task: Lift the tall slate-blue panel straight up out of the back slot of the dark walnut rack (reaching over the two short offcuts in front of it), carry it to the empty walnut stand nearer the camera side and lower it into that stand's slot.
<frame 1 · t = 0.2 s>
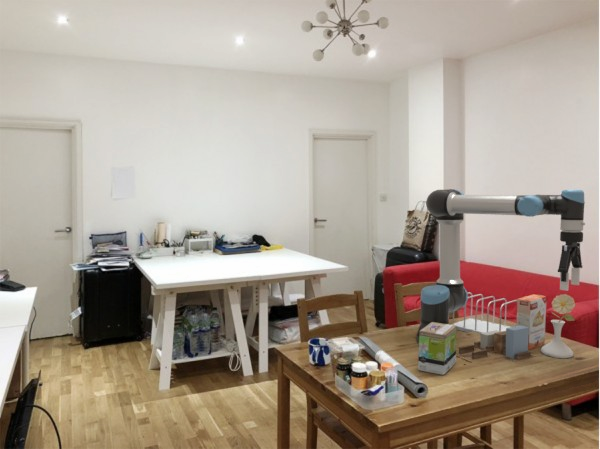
hand: (569, 287, 189), 28 cm above the table, fingers open, 13 cm apart
offcut brown: (503, 351, 198), point 1 cm above the table, touching rack
tea box: (437, 367, 185), on the table
file sorter: (484, 331, 230), on the table
flower in vase: (558, 357, 194), on the table
panel: (516, 356, 192), point 1 cm above the table, touching rack
rack: (503, 354, 198), on the table
offcut grey: (491, 347, 203), point 1 cm above the table, touching rack
stand: (472, 357, 194), on the table
cracker box: (530, 347, 206), on the table
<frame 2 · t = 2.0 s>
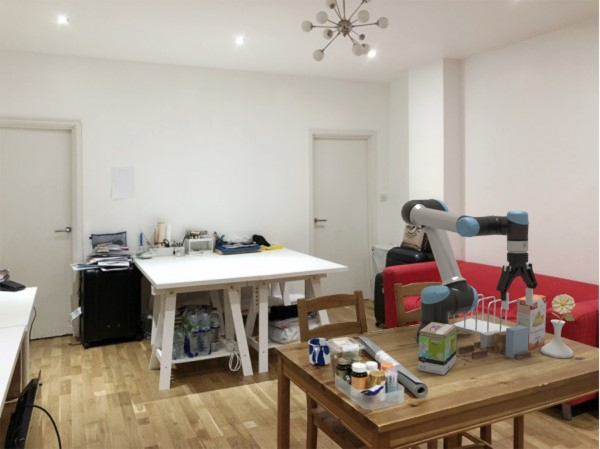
hand: (517, 307, 192), 20 cm above the table, fingers open, 13 cm apart
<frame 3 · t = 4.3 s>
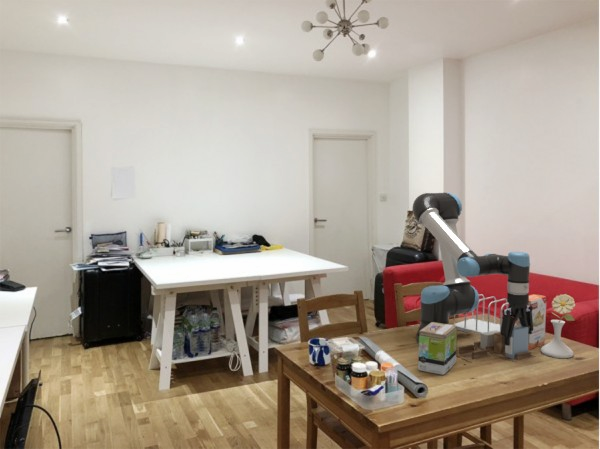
hand: (516, 351, 192), 3 cm above the table, fingers closed on panel, 8 cm apart
panel: (516, 356, 192), point 1 cm above the table, touching gripper, rack
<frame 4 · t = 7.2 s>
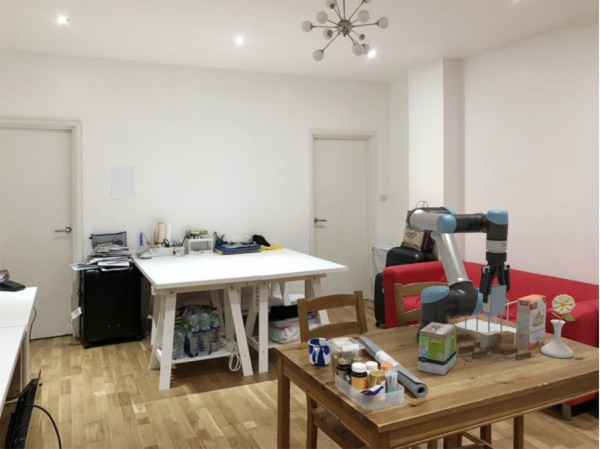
hand: (494, 309, 193), 19 cm above the table, fingers closed on panel, 8 cm apart
panel: (494, 314, 193), point 17 cm above the table, touching gripper
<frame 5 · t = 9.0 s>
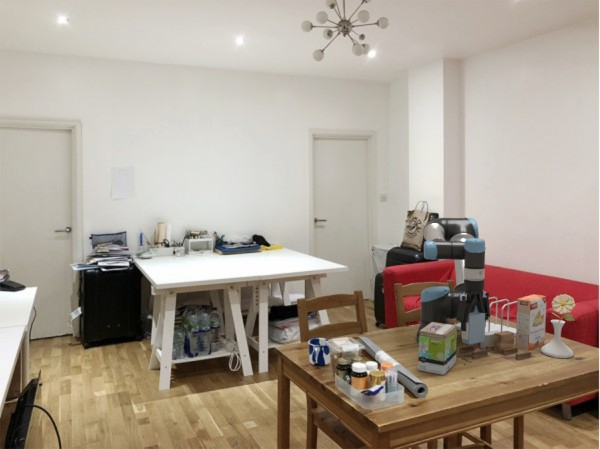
hand: (473, 337, 193), 8 cm above the table, fingers closed on panel, 8 cm apart
panel: (473, 341, 193), point 6 cm above the table, touching gripper
when the fingers open (4 cm above the table, at t = 10.4 s): panel stays where it is, resting on stand.
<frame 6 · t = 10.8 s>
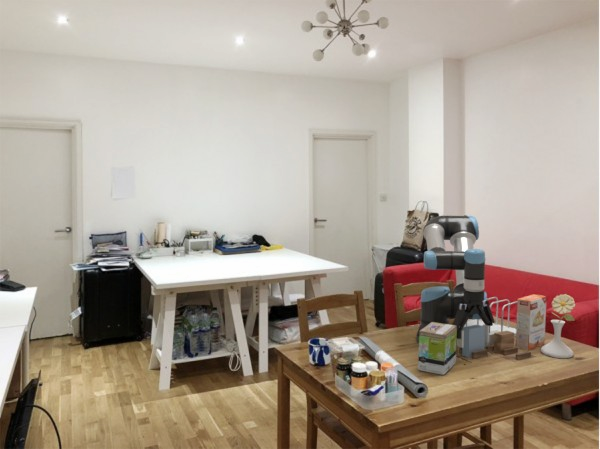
hand: (473, 344, 194), 5 cm above the table, fingers open, 13 cm apart
panel: (473, 354, 194), point 1 cm above the table, touching stand
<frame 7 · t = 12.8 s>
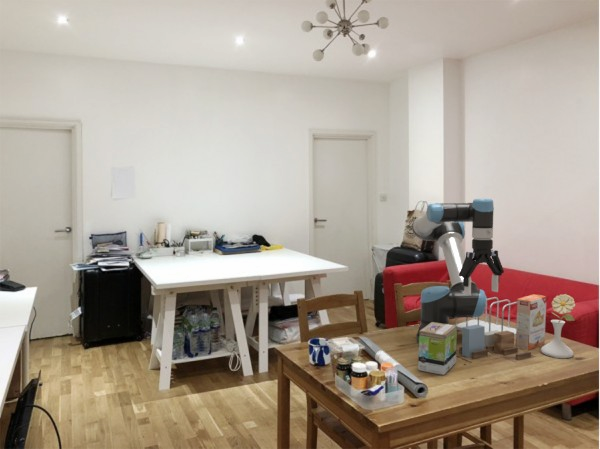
hand: (481, 293, 195), 24 cm above the table, fingers open, 13 cm apart
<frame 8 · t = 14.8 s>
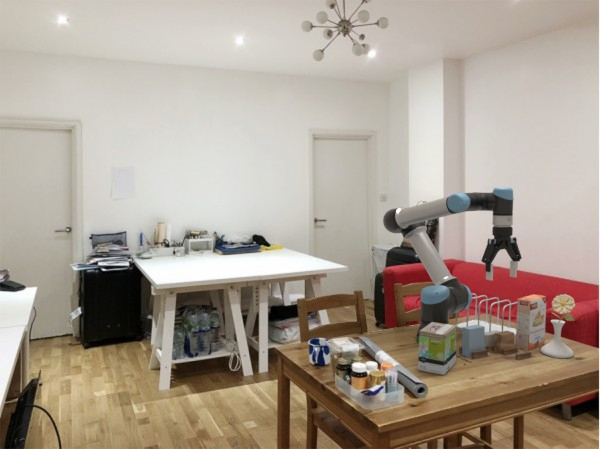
hand: (501, 278, 203), 29 cm above the table, fingers open, 13 cm apart
at the end: panel 0.1 cm off-centre on the stand, point 1.0 cm above the stand's base; panel tilted 0°; the gripper is holding nothing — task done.
